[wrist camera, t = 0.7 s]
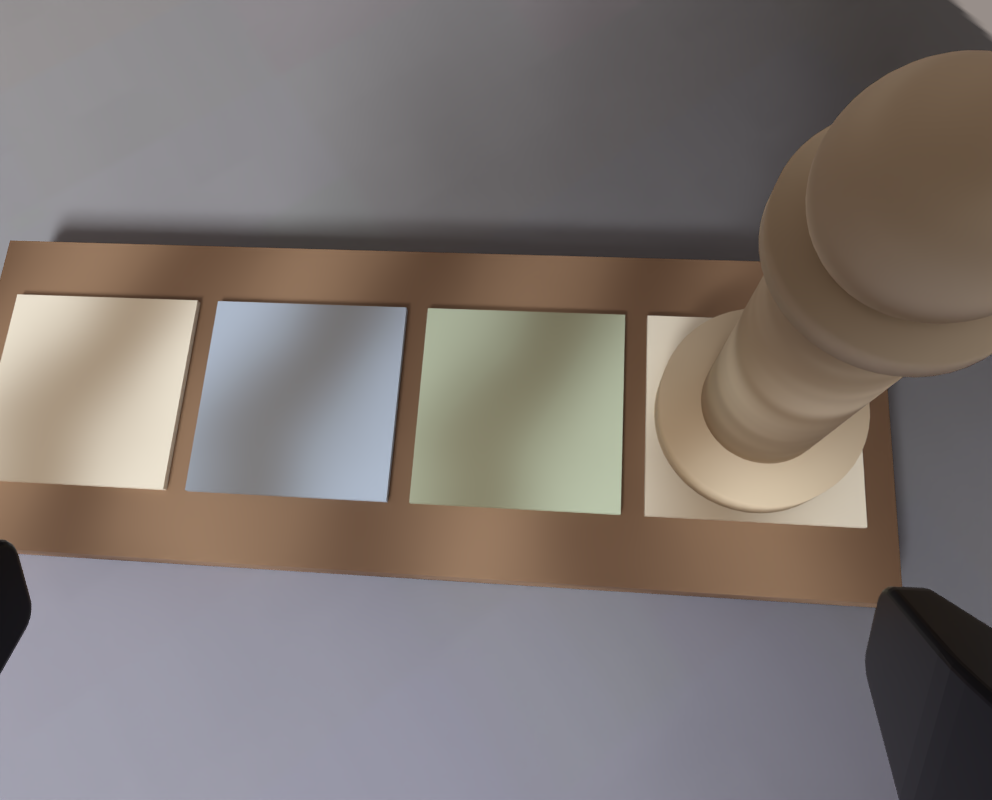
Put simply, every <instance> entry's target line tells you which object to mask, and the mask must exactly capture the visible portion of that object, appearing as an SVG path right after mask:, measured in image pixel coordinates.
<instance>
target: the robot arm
mask: <svg viewBox="0 0 992 800" xmlns="http://www.w3.org/2000/svg"><path fill="white" fill-rule="evenodd" d="M30 615H31V600H30V596H29V592H28V589H27V585H26V581H25V578H24V574H23V570H22V567H21V563H20V559H19V556H18V553H17V550H16V548H15V547H14V546H13V544H12V543H10V542H8V541H7V540H3V539H0V673H1V672H2V670H3V668H4V666H5V665H6V663H7V661H8V659H9V658H10V656H11V654H12V652H13V651H14V649H15V647H16V645H17V644H18V642H19V640H20V638H21V636H22V635H23V633H24V631H25V629H26V627H27V625H28V623H29V620H30ZM865 667H866V676H867V680H868V684H869V688H870V692H871V695H872V699H873V703H874V707H875V711H876V714H877V718H878V722H879V726H880V730H881V733H882V737H883V741H884V745H885V749H886V752H887V756H888V760H889V764H890V767H891V771H892V775H893V779H894V783H895V786H896V790H897V794H898V798H899V800H992V628H991V627H989V626H988V625H986V624H984V623H983V622H981V621H980V620H978V619H977V618H975V617H973V616H972V615H970V614H969V613H967V612H965V611H964V610H962V609H961V608H959V607H957V606H956V605H954V604H953V603H951V602H950V601H948V600H946V599H945V598H943V597H942V596H940V595H938V594H937V593H935V592H934V591H932V590H930V589H926V588H914V587H893V586H891V587H887V588H886V589H884V590H883V591H882V592H881V594H880V596H879V598H878V601H877V606H876V610H875V615H874V619H873V623H872V628H871V632H870V637H869V641H868V646H867V650H866V658H865Z"/></svg>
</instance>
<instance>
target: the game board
mask: <svg viewBox="0 0 992 800" xmlns="http://www.w3.org/2000/svg"><path fill="white" fill-rule="evenodd" d="M762 277H763V271H762V268H761V262H760V261H727V260H690V259H654V258H618V257H582V256H546V255H510V254H474V253H437V252H401V251H365V250H329V249H293V248H257V247H221V246H184V245H148V244H112V243H76V242H40V241H10V243H9V247H8V251H7V255H6V259H5V263H4V267H3V270H2V274H1V278H0V539H3V540H7V541H8V542H10V543H12V544H13V546H14V547H15V548H16V550H17V553H18V554H30V555H46V556H61V557H77V558H93V559H109V560H125V561H141V562H157V563H173V564H189V565H205V566H221V567H237V568H253V569H269V570H285V571H301V572H317V573H332V574H348V575H364V576H380V577H396V578H412V579H428V580H444V581H460V582H476V583H492V584H508V585H524V586H540V587H556V588H572V589H588V590H603V591H619V592H635V593H651V594H667V595H683V596H699V597H715V598H731V599H747V600H763V601H779V602H795V603H811V604H827V605H843V606H859V607H874V608H876V606H877V601H878V598H879V596H880V594H881V592H882V591H883V590H884V589H886V588H887V587H891V586H893V587H902V580H901V566H900V552H899V539H898V525H897V511H896V498H895V484H894V470H893V456H892V443H891V429H890V415H889V402H888V389H886V390H885V391H884V392H883V393H881V394H880V395H879V396H877V397H876V398H875V399H873V400H872V401H871V402H870V403H869V405H870V422H869V430H868V434H867V438H866V442H865V445H864V447H863V450H862V452H861V454H860V456H859V458H858V459H857V461H856V463H855V464H854V466H853V467H852V468H851V469H850V471H849V472H848V473H847V474H846V475H845V476H844V477H843V478H842V479H841V480H840V481H839V482H838V483H837V484H835V485H834V486H833V487H831V488H830V489H828V490H827V491H825V492H823V493H822V494H820V495H818V496H816V497H815V498H813V499H811V500H809V501H807V502H805V503H803V504H801V505H799V506H797V507H794V508H791V509H788V510H784V511H779V512H773V513H747V512H742V511H736V510H732V509H729V508H726V507H723V506H720V505H718V504H716V503H714V502H711V501H709V500H707V499H706V498H704V497H703V496H701V495H700V494H698V493H696V492H695V491H694V490H693V489H692V488H690V487H689V486H688V485H687V484H686V483H685V482H684V481H683V480H682V479H681V478H680V477H679V476H678V475H677V474H676V472H675V471H674V470H673V468H672V467H671V466H670V464H669V462H668V461H667V459H666V457H665V455H664V454H663V451H662V449H661V446H660V444H659V441H658V437H657V433H656V429H655V420H654V405H655V399H656V393H657V390H658V386H659V383H660V380H661V378H662V375H663V373H664V370H665V368H666V366H667V364H668V361H669V359H670V357H671V355H672V354H673V352H674V351H675V349H676V348H677V346H678V345H679V344H680V343H681V342H682V340H683V339H684V338H685V337H686V336H687V335H688V334H689V333H691V332H692V331H693V330H694V329H695V328H697V327H698V326H700V325H701V324H703V323H704V322H706V321H708V320H710V319H712V318H714V317H716V316H719V315H722V314H725V313H728V312H731V311H736V310H741V309H745V307H746V305H747V304H748V302H749V300H750V298H751V296H752V295H753V293H754V291H755V289H756V288H757V286H758V284H759V282H760V280H761V279H762Z"/></svg>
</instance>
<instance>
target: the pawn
mask: <svg viewBox="0 0 992 800" xmlns="http://www.w3.org/2000/svg"><path fill="white" fill-rule="evenodd" d="M759 256H760V262H761V268H762V271H763V277H762V279H761V280H760V282H759V284H758V286H757V288H756V289H755V291H754V293H753V295H752V296H751V298H750V300H749V302H748V304H747V305H746V307H745V309H741V310H736V311H731V312H728V313H725V314H722V315H719V316H716V317H714V318H712V319H710V320H708V321H706V322H704V323H703V324H701V325H700V326H698V327H697V328H695V329H694V330H693V331H692V332H691V333H689V334H688V335H687V336H686V337H685V338H684V339H683V340H682V342H681V343H680V344H679V345H678V346H677V348H676V349H675V351H674V352H673V354H672V355H671V357H670V359H669V361H668V364H667V366H666V368H665V370H664V373H663V375H662V378H661V380H660V383H659V386H658V390H657V393H656V399H655V405H654V420H655V429H656V433H657V437H658V441H659V444H660V446H661V449H662V451H663V454H664V455H665V457H666V459H667V461H668V462H669V464H670V466H671V467H672V468H673V470H674V471H675V472H676V474H677V475H678V476H679V477H680V478H681V479H682V480H683V481H684V482H685V483H686V484H687V485H688V486H689V487H690V488H692V489H693V490H694V491H695V492H696V493H698V494H700V495H701V496H703V497H704V498H706V499H707V500H709V501H711V502H714V503H716V504H718V505H720V506H723V507H726V508H729V509H732V510H736V511H742V512H747V513H773V512H779V511H784V510H788V509H791V508H794V507H797V506H799V505H801V504H803V503H805V502H807V501H809V500H811V499H813V498H815V497H816V496H818V495H820V494H822V493H823V492H825V491H827V490H828V489H830V488H831V487H833V486H834V485H835V484H837V483H838V482H839V481H840V480H841V479H842V478H843V477H844V476H845V475H846V474H847V473H848V472H849V471H850V469H851V468H852V467H853V466H854V464H855V463H856V461H857V459H858V458H859V456H860V454H861V452H862V450H863V447H864V445H865V442H866V438H867V434H868V430H869V422H870V405H869V403H870V402H871V401H872V400H873V399H875V398H876V397H877V396H879V395H880V394H881V393H883V392H884V391H885V390H886V389H888V388H889V387H890V386H892V385H893V384H894V383H895V382H897V381H898V380H899V379H901V378H902V377H927V376H936V375H941V374H946V373H951V372H954V371H957V370H960V369H963V368H966V367H969V366H971V365H973V364H975V363H977V362H979V361H981V360H983V359H985V358H987V357H988V356H990V355H991V354H992V51H984V50H964V51H953V52H948V53H943V54H939V55H934V56H929V57H926V58H923V59H920V60H917V61H914V62H912V63H909V64H907V65H905V66H903V67H901V68H899V69H896V70H894V71H892V72H890V73H888V74H887V75H885V76H884V77H882V78H880V79H879V80H877V81H876V82H874V83H873V84H871V85H870V86H869V87H867V88H866V89H865V90H864V91H862V92H861V93H860V94H859V95H858V96H856V97H855V98H854V99H853V100H852V101H851V102H850V103H849V104H848V105H847V107H846V108H845V109H844V110H843V111H842V112H841V113H840V114H839V115H838V117H837V118H836V119H835V121H834V122H833V124H832V125H830V126H828V127H827V128H825V129H823V130H822V131H820V132H819V133H817V134H816V135H814V136H813V137H812V138H810V139H809V140H808V141H807V142H806V143H804V144H803V145H802V146H801V147H800V148H799V149H798V150H797V152H796V153H795V154H794V155H793V156H792V157H791V158H790V160H789V161H788V163H787V164H786V166H785V167H784V169H783V170H782V172H781V174H780V176H779V178H778V180H777V183H776V185H775V187H774V189H773V191H772V193H771V195H770V197H769V199H768V202H767V204H766V206H765V209H764V212H763V215H762V219H761V223H760V231H759Z"/></svg>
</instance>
